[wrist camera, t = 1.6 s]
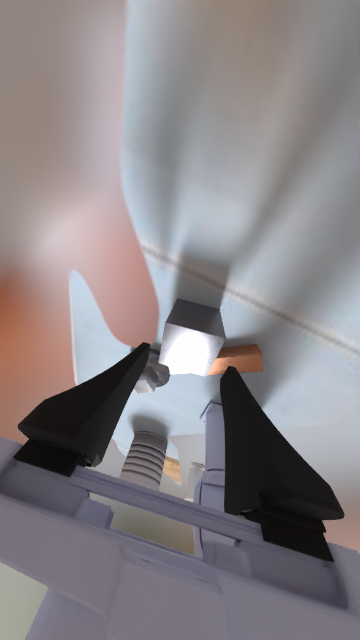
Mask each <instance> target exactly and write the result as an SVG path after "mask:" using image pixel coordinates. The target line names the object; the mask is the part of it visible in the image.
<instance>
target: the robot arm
mask: <svg viewBox="0 0 360 640" xmlns="http://www.w3.org/2000/svg"><path fill="white" fill-rule="evenodd" d="M149 349H150V344H148V343H145V342H143V343H142V344H141V345H139V346H138V347H137V348H136V349H135V350H134V351H132V352H131V353H130V354H129V355H127V356H126V357H125V358H123V359H122V360H121V361H119V362H118V363H116V364H115V365H113V366H112V367H110V368H109V369H107V370H106V371H104V372H102V373H101V374H99V375H97V376H95V377H93V378H92V379H90V380H88V381H86V382H84V383H82V384H80V385H78V386H75V387H73V388H71V389H69V390H67V391H64V392H62V393H60V394H57V395H55V396H53V397H50V398H48V399H45V400H44V401H43V402H42V403H40V404H39V405H38V406H37V407H36V408H35V409H34V410H33V411H32V412H31V413H30V414H29V415H28V416H26V417H25V418H24V419H23V421H21V422H20V423H19V424H18V429H19V430H20V431H21V432H22V433H23V434H24V435H25V436H27V437H28V438H29V440H28V441H27V442H26V443H25V444H24V445H22V444H20V443H18V442H15V441H12V440H9V439H6V438H2V437H0V562H2V563H4V564H6V565H8V566H10V567H12V568H14V569H16V570H17V571H19V572H21V573H23V574H25V575H27V576H29V577H31V578H33V579H35V580H36V581H39V582H40V583H42V584H44V585H46V586H48V587H49V588H48V590H47V592H46V595H45V597H44V599H43V601H42V603H41V606H40V608H39V610H38V612H37V614H36V616H35V619H34V621H33V623H32V625H31V628H30V630H29V632H28V634H27V636H26V639H25V640H360V554H359V553H358V552H357V551H356V550H352V549H349V548H346V547H343V546H340V545H337V544H333V543H328V542H326V540H325V537H324V535H323V532H324V533H326V529H325V527H324V524H323V522H322V520H336V519H342V518H344V512H343V510H342V508H341V506H340V504H339V502H338V500H337V498H336V496H335V495H334V493H333V491H332V489H331V487H330V485H329V484H328V483H327V482H325V480H323V478H322V477H321V476H320V475H319V474H318V473H317V472H316V471H315V470H313V468H312V467H311V466H309V464H308V463H307V462H306V461H305V460H304V459H303V458H302V457H301V456H300V455H299V454H298V453H297V451H295V449H294V448H293V447H292V446H291V445H290V444H289V443H288V441H287V440H286V439H285V438H284V437H283V436H282V434H281V433H280V432H279V431H278V430H277V428H276V427H275V426H274V425H273V423H272V422H271V421H270V419H269V418H268V417H267V416H266V414H265V413H264V412H263V410H262V409H261V407H260V406H259V404H258V403H257V402H256V400H255V399H254V397H253V396H252V394H251V392H250V391H249V389H248V388H247V386H246V384H245V383H244V381H243V379H242V378H241V376H240V374H239V372H238V371H237V369H236V367H232V366H228V368H227V369H226V371H225V373H224V374H223V376H222V378H221V379H220V394H221V402H222V406H221V405H218V404H214V403H210V404H209V405H208V407H207V408H206V410H205V412H204V413H203V415H202V416H201V418H200V422H203V423H206V471H203V478H199V480H198V482H197V483H196V486H195V491H194V499H193V502H190V501H187V500H184V499H181V498H178V497H175V496H172V495H169V494H165V493H162V492H159V491H156V490H153V489H150V488H147V487H144V486H141V485H137V484H134V483H131V482H128V481H125V480H122V479H119V478H116V477H112V476H109V475H106V474H103V473H100V472H97V471H94V470H91V469H88V468H85V466H87V467H91V466H92V467H96V466H97V465H98V464H100V463H101V462H102V459H103V457H104V454H105V452H106V449H107V447H108V444H109V442H110V440H111V437H112V435H113V432H114V430H115V428H116V425H117V423H118V421H119V418H120V416H121V414H122V411H123V409H124V407H125V405H126V403H127V400H128V398H129V396H130V394H131V392H132V391H133V389H134V387H135V385H136V383H137V382H138V380H139V378H140V376H141V374H142V373H143V371H144V369H145V366H146V364H147V362H148V358H149ZM88 491H89V492H92V493H95V494H98V495H101V496H104V497H107V498H110V499H113V500H116V501H119V502H122V503H125V504H128V505H131V506H134V507H137V508H141V509H144V510H146V511H149V512H153V513H156V514H159V515H162V516H165V517H168V518H171V519H174V520H177V521H180V522H183V523H186V524H189V525H192V526H193V532H194V545H195V556H193V555H190V554H187V553H184V552H181V551H178V550H176V549H173V548H170V547H167V546H164V545H161V544H158V543H155V542H152V541H149V540H146V539H143V538H141V537H138V536H135V535H132V534H128V533H125V532H122V531H119V530H116V529H113V528H110V525H111V522H112V519H113V516H114V513H115V512H114V510H113V509H111V506H108V505H105V504H102V503H100V502H97V501H95V500H92V499H89V498H90V494H89V492H88Z"/></svg>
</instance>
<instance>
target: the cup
mask: <svg viewBox="0 0 360 640" xmlns="http://www.w3.org/2000/svg"><path fill="white" fill-rule="evenodd" d="M191 466H193V467H191V469H190V472H189V476H188V482H187V488H186V493H185V500H187V501H190V502H193V499H194V491H195V486H196V483H197V482H198V480H199V478H203V470H202V468H203V467H204V468H205V470H206V467H205V466H204V465H203V464H199V463H191Z"/></svg>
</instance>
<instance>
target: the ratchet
mask: <svg viewBox="0 0 360 640" xmlns="http://www.w3.org/2000/svg"><path fill="white" fill-rule="evenodd" d="M159 357H160V352H159V351H157V350H154V349H149V358H148V362H147V364H146V366H145V369H144V371H143V373H142V374H141V376H140V378H139V380H138V382H137V383H136V385H135V387H134V389H135V390H136V391H137V393H151V392H154V390H155V387H161V386H163V385H165V384H166V383H167V382H168V381H169V377H170V374H181V373H191V372H188V371H184V370H180V369H177V368H173V367H170V366H166V365H163V364H159ZM228 366H232V367H236V369H237V371H238V372H239V373H242V372H257V371H263V368H262V354H261V352H260V350H259V348H258V346H257V344H255V345H247V346H239V347H231V348H223V349H221V350H220V352H219V354H218V355H217V357H216V359H215V361H214V363H213V365H212V367H211V369H210V371H209V373H208V375H213V374H224V373H225V371H226V369H227V368H228Z"/></svg>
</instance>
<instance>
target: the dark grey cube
mask: <svg viewBox="0 0 360 640" xmlns="http://www.w3.org/2000/svg"><path fill="white" fill-rule="evenodd" d="M225 340H226V337H225V332H224V327H223V323H222V318H221V314H220V310H219V309H215V308H211V307H208V306H204V305H200V304H196V303H192V302H188V301H185V300H181V299H177V301H176V303H175V305H174V307H173V309H172V311H171V313H170V315H169V317H168V318H167V320H166V322H165V328H164V334H163V339H162V345H161V351H160V357H159V364H163V365H166V366H170V367H173V368H177V369H180V370H184V371H188V372H191V373H195V374H198V375H202V376H205V377H207V375H208V373H209V371H210V369H211V367H212V365H213V363H214V361H215V359H216V357H217V355H218V354H219V352H220V350H221V348H222V346H223V344H224V342H225Z"/></svg>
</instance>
